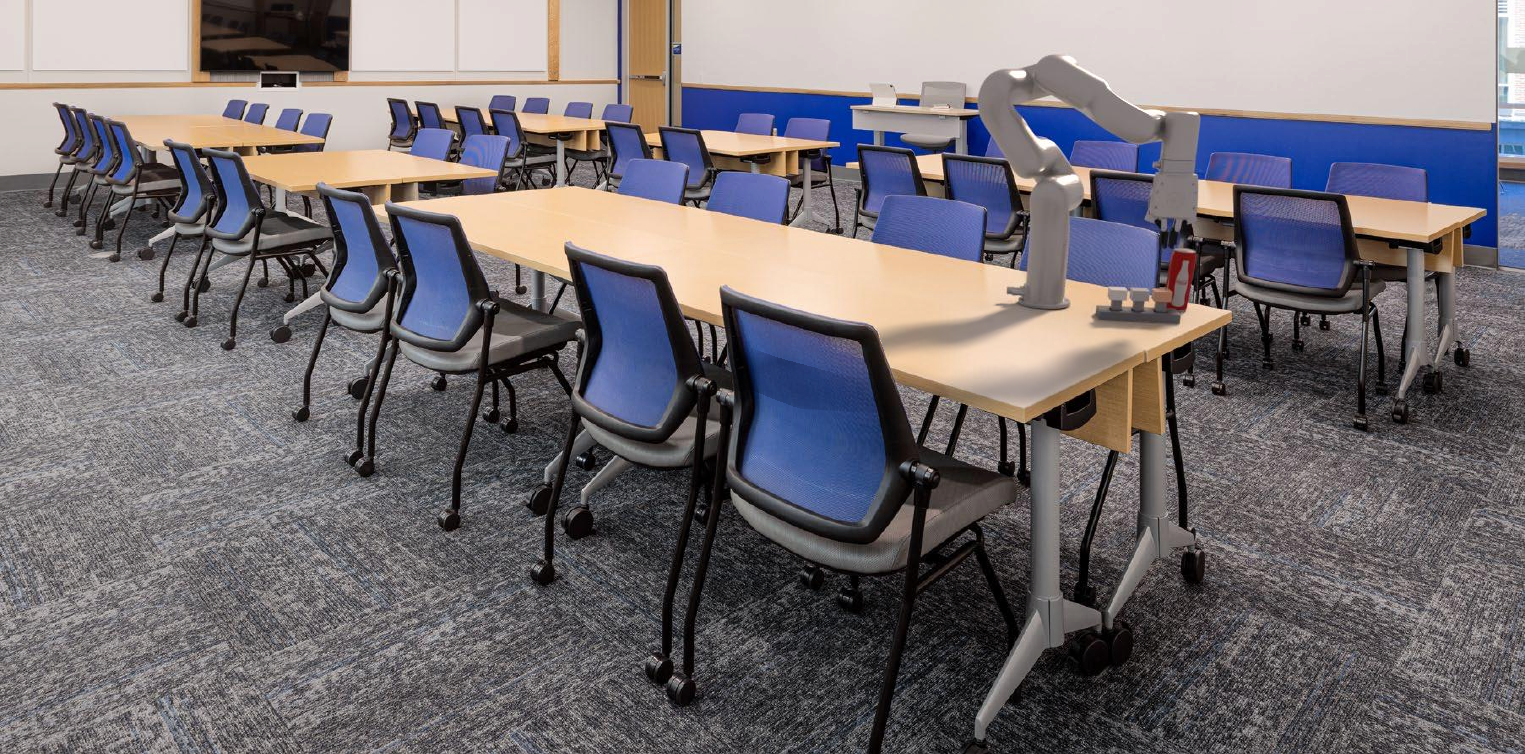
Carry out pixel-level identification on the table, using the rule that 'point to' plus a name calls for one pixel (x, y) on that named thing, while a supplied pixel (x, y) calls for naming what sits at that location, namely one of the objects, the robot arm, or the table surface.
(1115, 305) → the key white
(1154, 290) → the key terracotta
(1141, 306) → the key grey
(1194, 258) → the beverage can
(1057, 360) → the table surface
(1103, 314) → the grey key base
